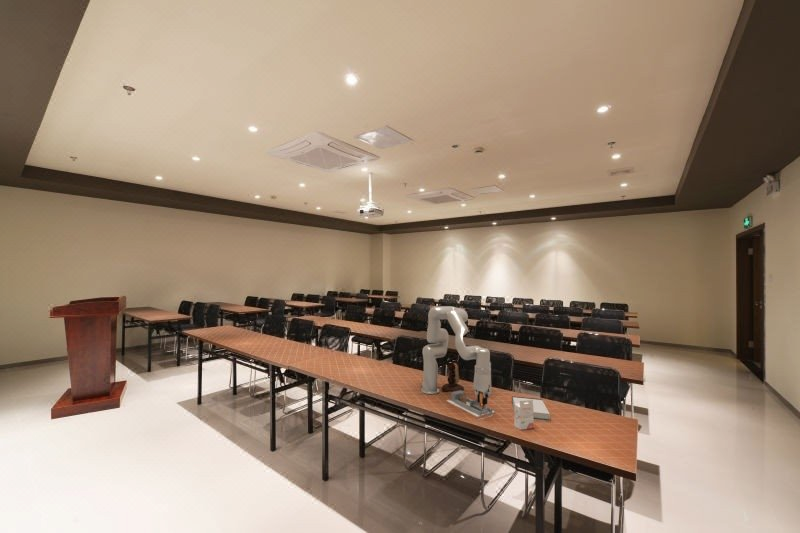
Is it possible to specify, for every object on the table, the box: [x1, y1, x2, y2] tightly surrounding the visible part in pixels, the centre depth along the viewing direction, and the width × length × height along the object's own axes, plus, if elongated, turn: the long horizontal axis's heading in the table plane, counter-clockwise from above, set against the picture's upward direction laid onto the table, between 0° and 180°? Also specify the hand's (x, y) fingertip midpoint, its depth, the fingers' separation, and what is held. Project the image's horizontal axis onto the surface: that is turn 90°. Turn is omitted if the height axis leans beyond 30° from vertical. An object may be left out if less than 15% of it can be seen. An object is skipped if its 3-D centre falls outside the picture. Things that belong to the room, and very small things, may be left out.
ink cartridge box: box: [513, 400, 534, 431], centre depth 177 cm, size 9×5×15 cm, turn 106°
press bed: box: [446, 390, 496, 420], centre depth 201 cm, size 27×14×6 cm, turn 31°
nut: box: [460, 395, 468, 403], centre depth 206 cm, size 4×4×4 cm
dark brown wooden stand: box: [441, 360, 465, 393], centre depth 233 cm, size 15×15×20 cm
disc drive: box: [511, 395, 551, 422], centre depth 198 cm, size 18×22×5 cm
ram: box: [470, 392, 489, 414], centre depth 194 cm, size 9×6×11 cm
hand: (482, 402), depth 192 cm, fingers closed on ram, 3 cm apart
